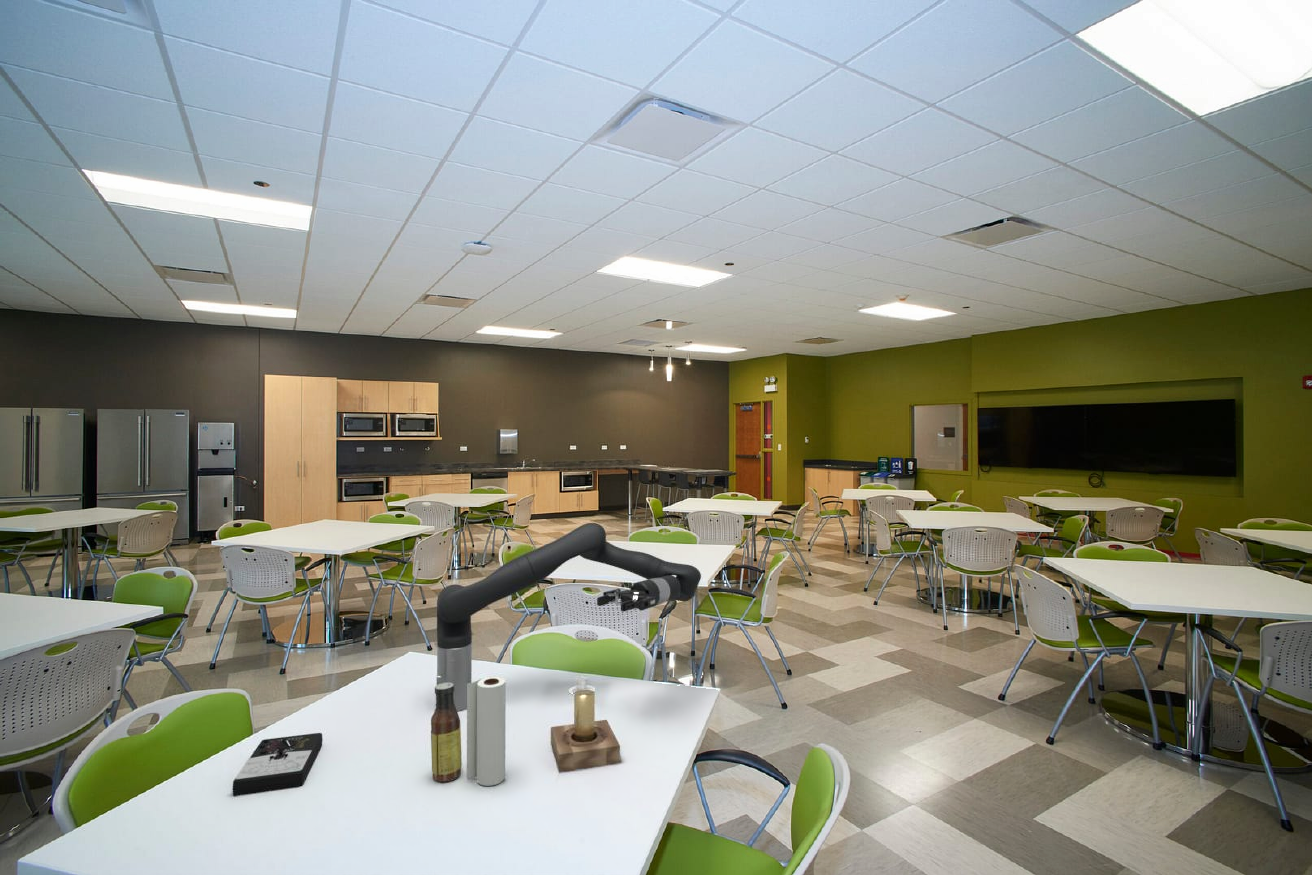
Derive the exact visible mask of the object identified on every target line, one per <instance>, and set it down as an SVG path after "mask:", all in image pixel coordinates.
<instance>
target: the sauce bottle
mask: <svg viewBox="0 0 1312 875" xmlns="http://www.w3.org/2000/svg"><path fill="white" fill-rule="evenodd" d="M453 692H454V684H452V683H441V684H438V685H437V684H436V686H435V687H434V694H435V709H434V712H433V714H432V716H431V719H430V729H431V730H430V747H431V748H430V749H431V773H432V779H433V780H435V781H436V782H440V783H447V782H452V781H453V780H455V779H457V778H458V777H459V776H460V775H461V773H462V765H463V764H462V733H461V731H462V730H461V719H460V715H459V713H458V711H457V710H456V707H455V704H454V696H453Z"/></svg>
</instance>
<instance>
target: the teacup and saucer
mask: <svg viewBox="0 0 1312 875" xmlns="http://www.w3.org/2000/svg"><path fill="white" fill-rule="evenodd" d="M575 680H576V685H575V686H572V687H569V689H568V693H569V694H570V695H572V696H574V694H573V693H574V692H573V691H574V690H575V689H577V690H576V691H579V690H585V689H587V690H592V689H593V690H592V691H594V692H596V688H595V687H594V686H592V685H589V684H587V682H588V677H587V676H583V675H581V676H577V677H576V678H575Z"/></svg>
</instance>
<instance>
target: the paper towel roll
mask: <svg viewBox="0 0 1312 875" xmlns="http://www.w3.org/2000/svg"><path fill="white" fill-rule="evenodd" d="M506 681H507V680H506V679H505V678H503V677H501V676H500V677H499V676H490V677H486V678H481V679H478V680H475V681H472V683H469V684H467V708H466V781H467V782H468V781H472V780H474V779H475V778H476V781H477V784H479V785H481V786H486V787H489V786H495V785H498V784H500V783H503V781H504V780H505V778H506V710H507V709H506V690H507V689H506V688H507V687H506V685H507V684H506V683H507V682H506Z"/></svg>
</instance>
